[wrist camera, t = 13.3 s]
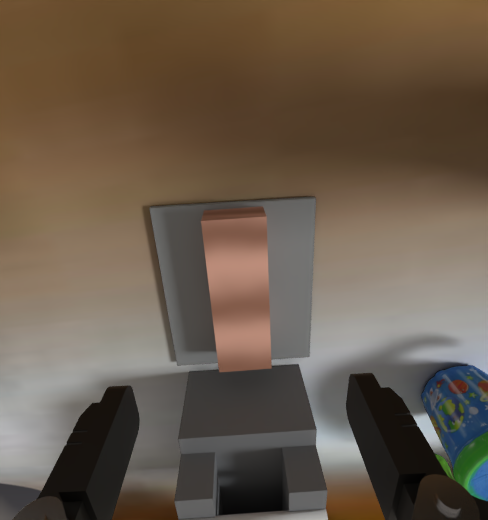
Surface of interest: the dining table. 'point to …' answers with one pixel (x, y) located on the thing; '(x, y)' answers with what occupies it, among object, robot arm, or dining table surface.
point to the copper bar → (238, 286)
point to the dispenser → (249, 448)
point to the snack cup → (461, 424)
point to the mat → (197, 287)
